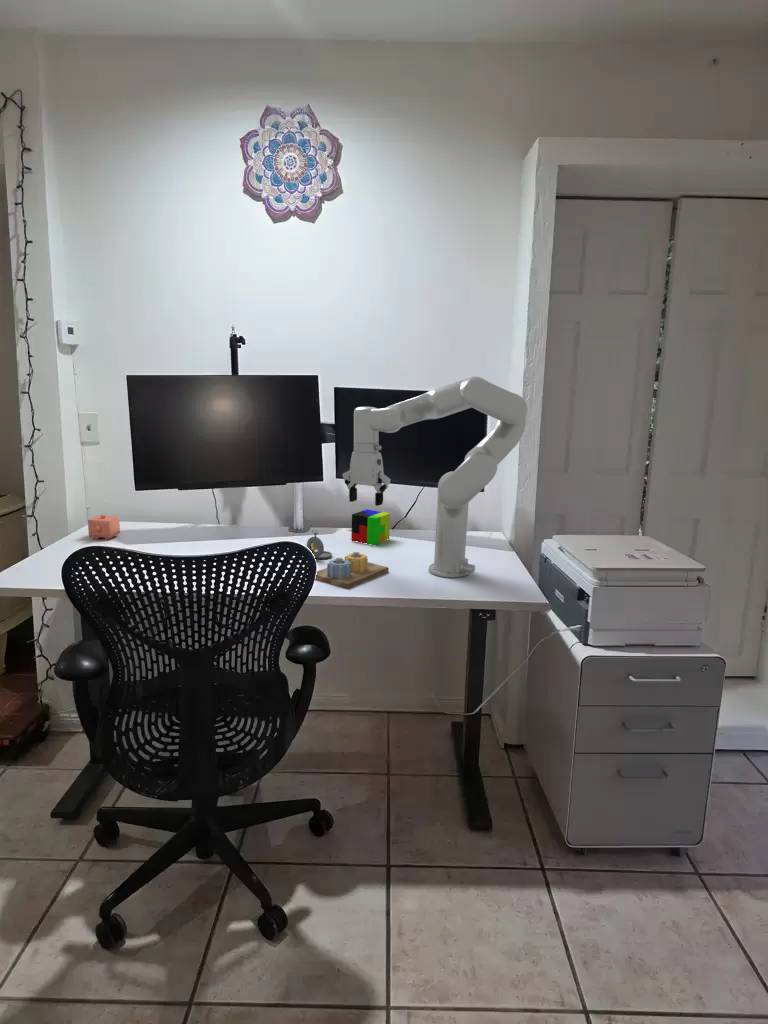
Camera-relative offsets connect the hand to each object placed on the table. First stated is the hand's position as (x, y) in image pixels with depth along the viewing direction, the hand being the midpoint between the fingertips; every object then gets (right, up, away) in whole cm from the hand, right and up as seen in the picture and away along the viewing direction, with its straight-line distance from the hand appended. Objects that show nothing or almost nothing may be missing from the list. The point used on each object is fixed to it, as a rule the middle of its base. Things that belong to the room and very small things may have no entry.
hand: (365, 502), depth 203 cm
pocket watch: (-16, -18, +13) cm, 27 cm away
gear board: (-5, -22, -4) cm, 23 cm away
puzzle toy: (+1, -13, +35) cm, 37 cm away
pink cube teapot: (-93, -12, +27) cm, 97 cm away
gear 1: (-8, -21, -8) cm, 24 cm away
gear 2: (-3, -20, -2) cm, 20 cm away
